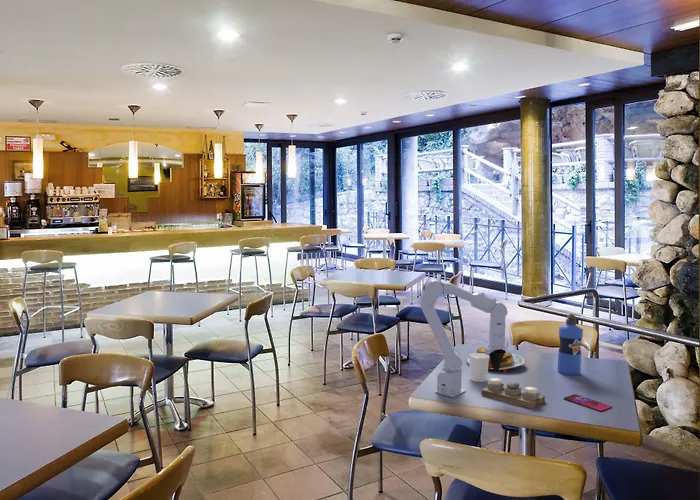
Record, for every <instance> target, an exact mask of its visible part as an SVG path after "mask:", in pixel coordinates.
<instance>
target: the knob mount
mask: <svg viewBox="0 0 700 500" xmlns="http://www.w3.org/2000/svg"><path fill="white" fill-rule="evenodd" d="M481 395H482V396H485V397H488V398H492V399H495V398H496V400H499V401H502V400H503V401H502V402H507V403H511V404H513V405H517V406H521V407H525V408H529V409H534V408H536V407H537V406H539V405H541V404H542V403H544V402H545V399H546V396H545V395H543V394H540V392H539V391H538V393H537V394H528V393H525V390H522V387H520V383H518V382H516V381H508V382H506V385H505V383H504V382H502V384H501V385H493V384H490V381H489V382H487V386H486V387H484V388H482V389H481Z"/></svg>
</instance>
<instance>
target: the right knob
mask: <svg viewBox="0 0 700 500" xmlns="http://www.w3.org/2000/svg"><path fill="white" fill-rule="evenodd" d="M524 391H525V393H528V394H537V393H538V392H539V391H538V388H537V387H535V386H526V387H524Z"/></svg>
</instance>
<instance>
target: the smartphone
mask: <svg viewBox="0 0 700 500" xmlns="http://www.w3.org/2000/svg"><path fill="white" fill-rule="evenodd" d="M563 400H564V401H567V402H569V403H573V404H576V405H579V406H582V407H584V408H587V409H591V410H594V411H596V412H598V413H602V412H605V411H608V410H610V409H613V406H612V405H609V404H605V403H603V402H601V401H597V400H594V399H591V398H588V397H585V396H582V395H580V394H576V393H573V394H570V395H567V396H564V397H563Z"/></svg>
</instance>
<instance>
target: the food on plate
mask: <svg viewBox="0 0 700 500" xmlns="http://www.w3.org/2000/svg"><path fill="white" fill-rule="evenodd" d="M486 347H487V346H485V347H479V348H478V349H477V350H476V353H484V354H486V353H485V348H486ZM487 355H488V354H487ZM466 361H467V363H468V364H469V357H467V358H466ZM526 362H527V361H526V359H525V358H524V357H523V356H521V355H518V354H514V353H511V352H507V351H506V353H505V354H504V356H503V358H502V361H501V365H500V368H499V369H498V370H499V371H501V370H503V371H502V373H506V370H509V369H515V368H517V367H520V366H521V367H522V368H523V367H524V366H523V365H524V364H525V363H526ZM488 370H494V369H493V368H492V363H491V359H490V357H489V366H488Z"/></svg>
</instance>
